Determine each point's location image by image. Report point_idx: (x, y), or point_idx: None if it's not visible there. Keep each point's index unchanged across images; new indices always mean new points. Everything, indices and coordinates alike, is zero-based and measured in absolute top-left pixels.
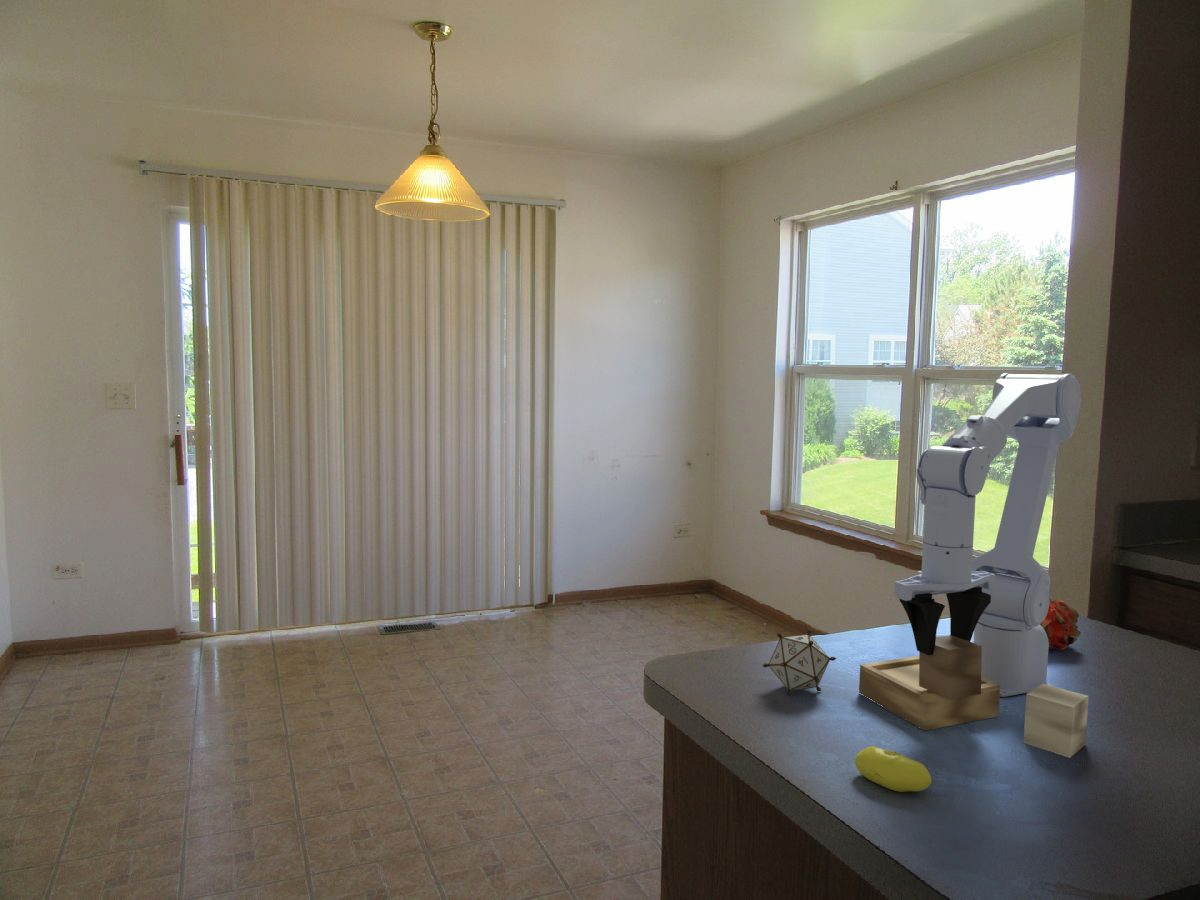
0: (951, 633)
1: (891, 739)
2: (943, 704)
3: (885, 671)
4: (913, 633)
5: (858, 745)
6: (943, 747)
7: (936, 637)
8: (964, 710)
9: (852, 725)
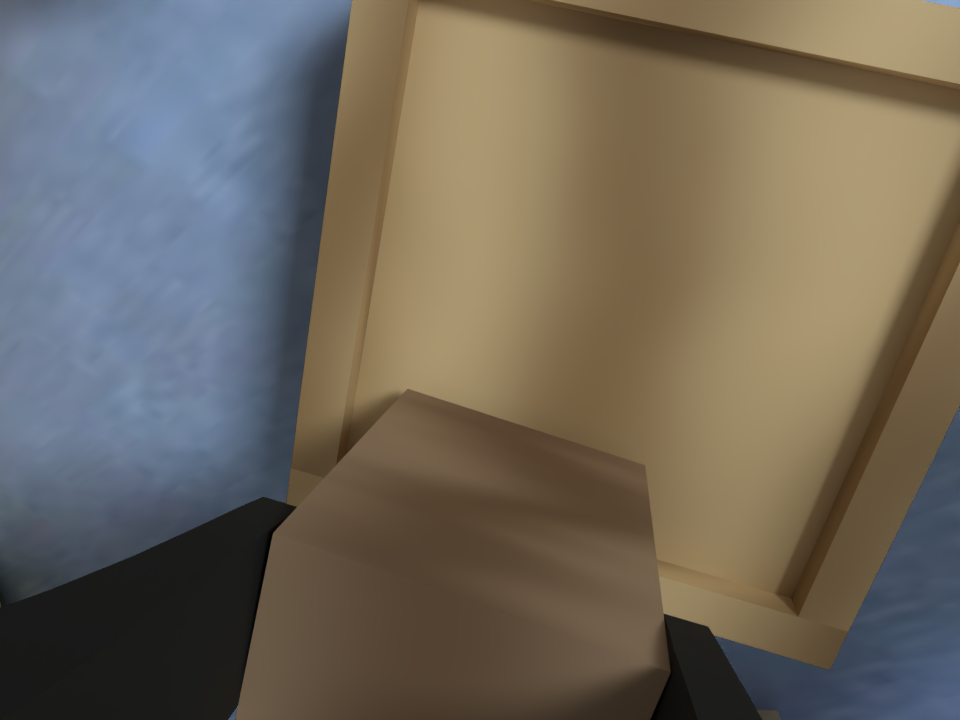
0: (674, 682)
1: (175, 394)
2: None
3: (500, 54)
4: (147, 551)
5: (30, 350)
6: None
7: (461, 610)
8: None
9: (123, 218)
